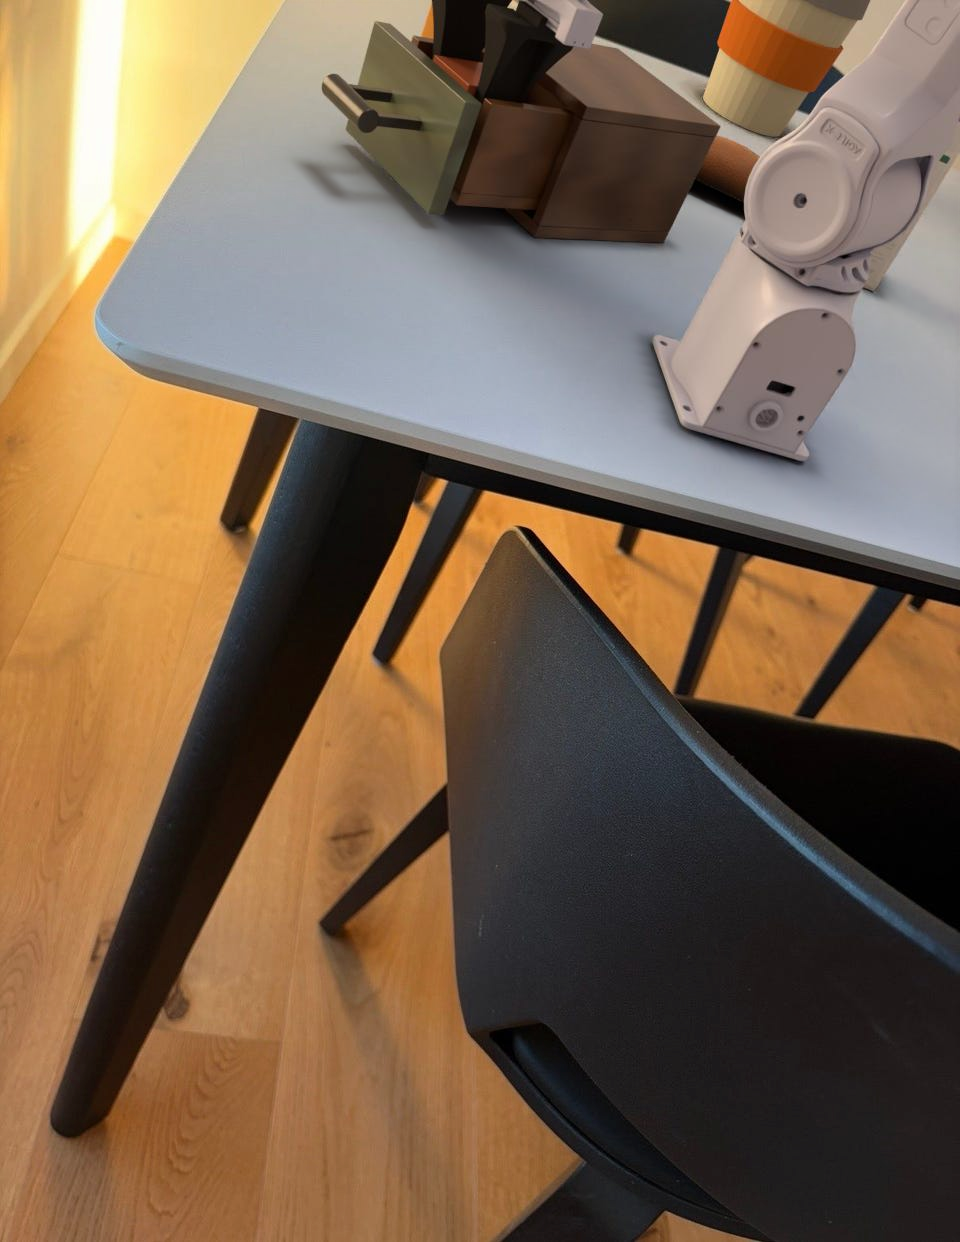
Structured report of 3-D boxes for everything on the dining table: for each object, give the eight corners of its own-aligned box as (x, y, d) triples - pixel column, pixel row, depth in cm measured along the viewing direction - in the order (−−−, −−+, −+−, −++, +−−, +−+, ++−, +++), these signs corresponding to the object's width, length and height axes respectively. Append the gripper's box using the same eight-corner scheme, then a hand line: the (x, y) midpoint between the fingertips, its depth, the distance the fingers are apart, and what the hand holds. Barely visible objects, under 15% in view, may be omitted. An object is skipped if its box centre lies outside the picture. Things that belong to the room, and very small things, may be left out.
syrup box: (875, 293, 88) (990, 114, 79) (808, 263, 88) (916, 79, 79) (869, 267, 93) (977, 94, 83) (805, 238, 92) (907, 61, 83)
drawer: (365, 210, 64) (400, 92, 59) (283, 123, 69) (310, 8, 64) (566, 221, 73) (609, 121, 69) (482, 144, 78) (517, 46, 74)
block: (497, 155, 70) (520, 92, 68) (447, 150, 68) (469, 84, 65) (464, 125, 72) (484, 62, 70) (414, 119, 70) (434, 54, 67)
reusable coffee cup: (735, 136, 108) (817, -29, 98) (664, 77, 114) (735, -82, 105) (819, 152, 115) (903, 0, 105) (747, 96, 122) (820, -51, 112)
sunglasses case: (767, 190, 96) (801, 136, 90) (744, 251, 94) (778, 200, 88) (578, 103, 95) (600, 42, 89) (550, 162, 93) (571, 104, 87)
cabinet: (534, 237, 72) (587, 106, 67) (441, 149, 77) (483, 21, 72) (664, 243, 80) (721, 126, 74) (571, 162, 85) (617, 48, 80)
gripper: (418, -196, 62) (353, 54, 70) (569, -95, 55) (476, 168, 63) (514, -164, 66) (441, 67, 74) (665, -66, 59) (566, 176, 68)
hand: (463, 115), depth 69 cm, fingers closed on block, 4 cm apart
